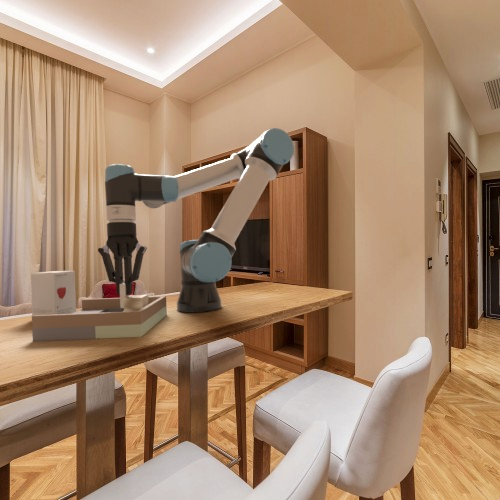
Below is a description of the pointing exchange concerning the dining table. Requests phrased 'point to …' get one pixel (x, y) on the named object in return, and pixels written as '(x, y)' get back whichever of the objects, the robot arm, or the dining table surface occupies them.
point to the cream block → (135, 302)
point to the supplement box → (53, 292)
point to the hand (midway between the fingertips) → (125, 306)
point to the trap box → (99, 321)
